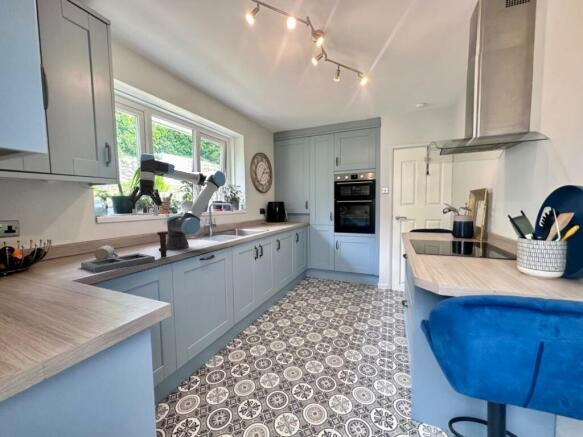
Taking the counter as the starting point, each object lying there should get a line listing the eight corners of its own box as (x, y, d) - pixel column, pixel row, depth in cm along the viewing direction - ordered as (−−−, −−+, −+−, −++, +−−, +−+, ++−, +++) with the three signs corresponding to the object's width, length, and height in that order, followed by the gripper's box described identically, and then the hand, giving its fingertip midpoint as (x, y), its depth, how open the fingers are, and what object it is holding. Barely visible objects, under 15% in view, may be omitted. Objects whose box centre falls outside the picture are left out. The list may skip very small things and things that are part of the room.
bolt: (163, 257, 142) (162, 232, 141) (156, 257, 143) (155, 232, 142) (170, 255, 148) (169, 231, 147) (163, 255, 149) (162, 231, 148)
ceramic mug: (93, 261, 138) (92, 247, 137) (100, 258, 146) (99, 245, 145) (115, 259, 141) (114, 246, 140) (120, 256, 149) (120, 244, 148)
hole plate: (138, 257, 145) (138, 253, 145) (154, 260, 135) (154, 256, 135) (81, 267, 123) (80, 262, 123) (95, 272, 113) (95, 267, 112)
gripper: (161, 183, 158) (159, 215, 158) (121, 176, 135) (120, 214, 135) (169, 183, 155) (168, 216, 155) (130, 175, 133) (128, 214, 132)
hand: (145, 215), depth 145 cm, fingers open, 13 cm apart
